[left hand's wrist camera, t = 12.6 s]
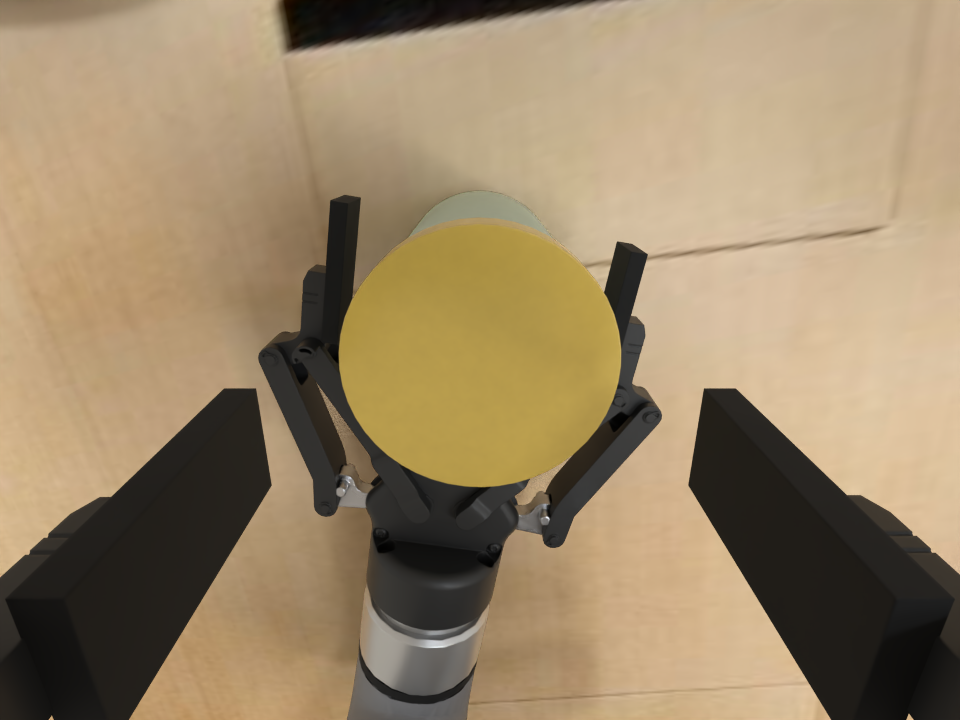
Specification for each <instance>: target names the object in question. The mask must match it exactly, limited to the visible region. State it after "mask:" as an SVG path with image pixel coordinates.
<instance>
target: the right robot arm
mask: <svg viewBox="0 0 960 720" xmlns="http://www.w3.org/2000/svg"><path fill="white" fill-rule="evenodd" d="M360 200H361V198H360V197H354V196H348V195H343V196H341V197H338V198H336V199H333V200H330V214H329V230H328V245H327V260H326V266H322V265H315V266H314V267H313V268H311V269H310V270H309V271H308V272H307V274H306V276H305V278H304V280H303V296H302V300H303V301H302V316H301V330H300V331H298V332H293V333H290V332H282V333H280V334H278V335H277V336H276V337H275V338H274V339H273V340H272V341H271V342H270V343H269V344H268V345H267V346H266V347H265V348H263V349H262V351H261V352H260V353H259V357H258V359H259V363H260V365H261V367H262V369H263V371H264V374H265V376H266V378H267V380H268V382H269V385H270V387H271V389H272V391H273V393H274V396H275V398H276V400H277V402H278V404H279V406H280V409H281V411H282V413H283V415H284V417H285V420H286V422H287V424H288V426H289V428H290V430H291V433H292V435H293V437H294V439H295V441H296V444H297V446H298V448H299V450H300V452H301V455H302V457H303V459H304V461H305V463H306V465H307V468H308V470H309V472H310V474H311V476H312V479H313V488H314V508H315V511H316V512H317V513H318V514H320V515H321V516H325V517H327V516H332V515H334V513H335V512H336V510H337V508H338V506H340V507H356V508H366V509H367V511H368V513H369V515H370V517H371V520H372V533H371V542H370V551H369V559H368V568H367V584H366V588H365V592H364V601H363V611H362V620H361V630H360V640H359V654H358V661H357V667H356V674H355V680H354V687H353V693H352V699H351V704H350V709H349V713H348V717H347V720H467V710H468V703H469V697H470V691H471V686H472V680H473V675H474V670H475V667H476V663H477V658H478V655H479V652H480V648H481V644H482V639H483V635H484V631H485V626H486V622H487V618H488V614H489V606H490V601H491V598H492V594H493V590H494V585H495V581H496V577H497V572H498V568H499V563H500V559H501V555H502V550H503V546H504V543H505V541H506V539H507V538H508V536H509V535H510V534H511V533H512V532H513V531H514V530H515V529H517V530H522V531H527V532H531V533H536V534H541V535H542V537H543V541H544V544H545V545H546V546H548V547H550V548H556V547H559V546H561V545H562V544H563V543H564V541H565V539H566V536H567V534H568V531H569V528H570V526H571V523H572V521H573V518H574V516H575V515H576V514H577V513H578V512H579V511H580V510H581V509H582V507H583V506H584V505H585V504H586V503H587V502H588V501H589V500H590V499H591V498H592V496H593V495H594V494H595V493H596V492H597V491H598V490H599V489H600V488H601V487H602V485H603V484H604V483H605V482H606V481H607V480H608V479H609V478H610V477H611V475H612V474H613V473H614V472H615V471H616V470H617V469H618V468H619V467H620V466H621V464H622V463H623V462H624V461H625V460H626V459H627V458H628V457H629V456H630V455H631V453H632V452H633V451H634V450H635V449H636V448H637V447H638V446H639V445H640V444H641V442H642V441H643V440H644V439H645V438H646V437H647V436H648V435H649V434H650V432H651V431H652V430H653V429H654V428H655V427H656V426H657V425H658V424H659V422H660V421H661V418H662V414H661V411H660V410H659V408H658V407H657V405H656V404H655V402H654V401H653V399H652V398H651V396H650V395H649V393H648V392H647V390H646V389H645V388H643V387H637V386H635V385H633V384H632V380H633V377H634V373H635V370H636V366H637V363H638V359H639V355H640V353H641V349H642V346H643V342H644V339H645V328H644V325H643V324H642V322H641V321H640V320H639V319H638V318H637V317H635V316H631V313H632V310H633V306H634V302H635V299H636V295H637V292H638V288H639V284H640V281H641V277H642V274H643V270H644V266H645V263H646V259H647V256H648V254H646V253H645V252H643V251H642V250H640V249H639V248H637V247H636V246H634V245H633V244H629V243H623V242H617V244H616V248H615V252H614V256H613V260H612V264H611V268H610V272H609V276H608V279H607V283H606V287H605V291H604V294H605V295H606V297H607V299H608V301H609V303H610V306H611V308H612V310H613V313H614V315H615V319H616V322H617V326H618V330H619V336H620V344H621V369H620V375H619V381H618V385H617V389H616V392H615V395H614V398H613V401H612V403H611V405H610V407H609V410H608V412H607V414H606V416H605V417H604V419H603V421H602V422H601V424H600V425H599V427H598V429H597V430H596V431H595V432H594V434H593V435H592V436H591V437H590V438H589V440H588V441H587V442H586V443H585V444H584V445H583V446H582V447H581V448H580V449H579V450H578V451H576V452H575V453H574V454H573V456H572V457H571V458H570V459H569V460H568V461H567V462H566V464H565V465H564V466H563V467H562V468H561V469H560V471H559V472H558V473H557V474H556V475H555V477H554V478H553V479H552V481H551V482H550V484H549V486H548V487H547V490H546V492H543V491H539V492H537V493H536V496H535V497H534V498H533V499H532V501H531V502H530V503H529V504H526V505H518V504H517V500H516V498H515V497H514V496H515V495H517V494H518V493H519V492H521V491H522V490H523V489H524V488H525V487H526V486H527V483H528V481H529V480H530V479H527V480H523V481H520V482H517V483H512V484H507V485H501V486H491V487H468V486H459V485H453V484H447V483H444V482H440V481H436V480H433V479H430V478H427V477H425V476H422V475H420V474H418V473H415V472H413V471H412V470H410V469H408V468H406V467H404V466H402V465H401V464H399V463H398V462H397V461H395V460H394V459H392V458H391V457H390V456H388V455H387V454H386V453H385V452H384V451H383V450H381V449H380V448H379V447H378V446H377V445H376V444H375V443H374V442H373V441H372V439H371V438H370V437H369V436H368V435H367V434H366V433H365V431H364V430H363V428H362V427H361V425H360V424H359V422H358V421H357V419H356V418H355V416H354V414H353V412H352V410H351V408H350V406H349V403H348V401H347V398H346V395H345V392H344V389H343V386H342V381H341V375H340V370H339V344H340V334H341V330H342V326H343V322H344V318H345V315H346V313H347V310H348V308H349V306H350V303H351V301H352V295H353V283H354V271H355V259H356V247H357V236H358V224H359V212H360ZM316 382H317V383H316ZM317 384H318V385H319V386H320V388H321V389H322V390H323V392H324V393H325V395H326V396H327V397H328V399H329V400H330V401H331V403H332V404H333V405H334V407H335V408H336V410H337V411H338V412H339V414H340V415H341V416H342V418H343V419H344V421H345V422H346V423H347V425H348V426H349V427H350V429H351V430H352V431H353V433H354V434H355V436H356V437H357V438H358V440H359V441H360V442H361V444H362V445H363V446H364V448H365V449H366V451H367V452H368V453H369V455H370V457H371V462H372V465H373V467H374V469H375V471H376V472H377V473H378V476H377V477H376V478H375V479H374V480H373V481H372V483H371V484H368V483H365V482H363V481H362V480H361V479H360V478H359V476H358V473H357V471H356V470H355V466H354V465H353V464H347V463H346V455H345V450H344V448H343V445H342V442H341V440H340V437H339V435H338V433H337V430H336V428H335V426H334V423H333V421H332V418H331V416H330V414H329V411H328V409H327V407H326V404H325V402H324V400H323V397H322V395H321V392H320V390H319V388H318V385H317Z"/></svg>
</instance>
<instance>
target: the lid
mask: <svg viewBox="0 0 960 720" xmlns="http://www.w3.org/2000/svg"><path fill="white" fill-rule="evenodd" d="M620 369H621V344H620V336H619V330H618V326H617V322H616V319H615V315H614V313H613V310H612V308H611V306H610V303H609V301H608V299H607V297H606V295H605V294H604V292H603V291H602V289H601V287H600V286H599V284H598V282H597V281H596V280H595V279H594V278H593V276H592V275H591V274H590V273H589V272H588V270H587V269H586V268H585V267H584V266H583V264H582V263H581V262H580V261H579V260H578V259H577V257H575V256H574V255H573V254H572V253H571V252H570V251H569V250H568V249H567V248H565V247H564V246H563V245H562V244H560V243H559V242H557V241H556V240H554V239H553V238H551V237H550V236H548V235H546V234H544V233H542V232H540V231H538V230H536V229H534V228H532V227H529V226H526V225H523V224H520V223H517V222H513V221H508V220H503V219H498V218H481V217H477V218H464V219H457V220H452V221H447V222H443V223H440V224H437V225H434V226H431V227H429V228H426V229H424V230H422V231H420V232H418V233H416V234H414V235H412V236H410V237H408V238H407V239H406V240H404V241H403V242H401V243H400V244H399V245H397V246H396V247H394V248H393V249H392V250H391V251H390V252H389V253H388V254H387V255H386V256H385V257H384V258H383V259H382V260H381V261H380V262H379V263H378V264H377V265H376V267H375V268H374V269H373V270H372V271H371V273H370V274H369V275H368V276H367V278H366V279H365V280H364V281H363V283H362V284H361V285H360V287H359V289H358V290H357V292H356V294H355V296H354V297H353V299H352V301H351V303H350V306H349V308H348V310H347V313H346V315H345V318H344V322H343V326H342V330H341V334H340V344H339V370H340V375H341V381H342V386H343V389H344V392H345V395H346V398H347V401H348V403H349V406H350V408H351V410H352V412H353V414H354V416H355V418H356V419H357V421H358V422H359V424H360V425H361V427H362V428H363V430H364V431H365V433H366V434H367V435H368V436H369V437H370V438H371V439H372V441H373V442H374V443H375V444H376V445H377V446H378V447H379V448H380V449H381V450H383V451H384V452H385V453H386V454H387V455H388V456H390V457H391V458H392V459H394V460H395V461H397V462H398V463H399V464H401V465H402V466H404V467H406V468H408V469H410V470H412V471H413V472H415V473H418V474H420V475H422V476H425V477H427V478H430V479H433V480H436V481H440V482H444V483H447V484H453V485H459V486H468V487H491V486H501V485H507V484H512V483H517V482H520V481H523V480H527V479H530V478H533V477H535V476H537V475H540V474H542V473H545V472H547V471H548V470H550V469H552V468H554V467H556V466H557V465H559V464H561V463H562V462H564V461H565V460H566V459H568V458H569V457H570V456H572V455H573V454H574V453H575V452H576V451H578V450H579V449H580V448H581V447H582V446H583V445H584V444H585V443H586V442H587V441H588V440H589V438H590V437H591V436H592V435H593V434H594V432H595V431H596V430H597V429H598V427H599V425H600V424H601V422H602V421H603V419H604V417H605V416H606V414H607V412H608V410H609V407H610V405H611V403H612V401H613V398H614V395H615V392H616V389H617V385H618V381H619V375H620Z"/></svg>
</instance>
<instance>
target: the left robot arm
mask: <svg viewBox="0 0 960 720" xmlns="http://www.w3.org/2000/svg"><path fill="white" fill-rule="evenodd" d="M270 487H271V478H270V472H269V466H268V460H267V454H266V448H265V441H264V435H263V429H262V423H261V417H260V410H259V404H258V398H257V392H256V389H223V390H222V391H221V392H220V393H219V394H218V395H217V396H216V397H215V398H214V399H213V400H212V401H211V402H210V403H209V404H208V405H207V406H206V407H205V408H204V409H202V410H201V411H200V412H199V413H198V414H197V415H196V416H195V417H194V418H193V419H192V420H191V421H190V422H189V423H188V424H187V425H186V426H185V427H184V428H183V429H182V430H181V431H180V432H178V433H177V434H176V435H175V436H174V437H173V438H172V439H171V440H170V441H169V442H168V443H167V444H166V445H165V446H164V447H163V448H162V449H161V450H160V451H159V452H158V453H157V454H156V455H155V456H153V457H152V458H151V459H150V460H149V461H148V462H147V463H146V464H145V465H144V466H143V467H142V468H141V469H140V470H139V471H138V472H137V473H136V474H135V475H134V476H133V477H132V478H131V479H129V480H128V481H127V482H126V483H125V484H124V485H123V486H122V487H121V488H120V489H119V490H118V491H117V492H116V493H115V494H114V495H113V496H112V497H99V498H98V499H96V500H94V501H92V502H91V503H89V504H87V505H85V506H84V507H82V508H80V509H78V510H77V511H75V512H73V513H71V514H70V515H69V516H68V517H67V518H65V519H64V520H63V521H62V522H61V523H60V524H59V525H58V526H57V527H56V528H54V529H53V530H52V531H51V532H50V533H49V534H48V535H49V536H48V538H43V539H42V540H41V541H40V542H39V543H38V544H37V545H36V546H35V547H33V548H32V549H31V550H30V554H29V555H25V556H23V557H22V558H21V559H20V560H19V561H18V562H17V563H16V564H15V565H14V566H12V567H11V568H10V569H9V570H8V571H7V572H6V573H5V574H4V575H2V576H1V577H0V720H49V718H50V717H51V716H53V719H54V720H129V718H130V717H131V715H132V714H133V712H134V710H135V709H136V707H137V705H138V704H139V702H140V700H141V699H142V697H143V696H144V694H145V692H146V691H147V689H148V687H149V686H150V684H151V682H152V681H153V679H154V677H155V676H156V674H157V673H158V671H159V669H160V668H161V666H162V664H163V663H164V661H165V659H166V658H167V656H168V654H169V653H170V651H171V650H172V648H173V646H174V645H175V643H176V641H177V640H178V638H179V636H180V635H181V633H182V632H183V630H184V628H185V627H186V625H187V623H188V622H189V620H190V618H191V617H192V615H193V613H194V612H195V610H196V609H197V607H198V605H199V604H200V602H201V600H202V599H203V597H204V595H205V594H206V592H207V590H208V589H209V587H210V586H211V584H212V582H213V581H214V579H215V577H216V576H217V574H218V572H219V571H220V569H221V568H222V566H223V564H224V563H225V561H226V559H227V558H228V556H229V554H230V553H231V551H232V549H233V548H234V546H235V545H236V543H237V541H238V540H239V538H240V536H241V535H242V533H243V531H244V530H245V528H246V526H247V525H248V523H249V522H250V520H251V518H252V517H253V515H254V513H255V512H256V510H257V508H258V507H259V505H260V504H261V502H262V500H263V499H264V497H265V495H266V494H267V492H268V490H269V489H270ZM689 487H690V489H691V490H692V492H693V494H694V495H695V497H696V499H697V500H698V502H699V504H700V505H701V507H702V508H703V510H704V512H705V513H706V515H707V517H708V518H709V520H710V522H711V523H712V525H713V526H714V528H715V530H716V531H717V533H718V535H719V536H720V538H721V540H722V541H723V543H724V545H725V546H726V548H727V549H728V551H729V553H730V554H731V556H732V558H733V559H734V561H735V563H736V564H737V566H738V568H739V569H740V571H741V572H742V574H743V576H744V577H745V579H746V581H747V582H748V584H749V586H750V587H751V589H752V590H753V592H754V594H755V595H756V597H757V599H758V600H759V602H760V604H761V605H762V607H763V609H764V610H765V612H766V613H767V615H768V617H769V618H770V620H771V622H772V623H773V625H774V627H775V628H776V630H777V632H778V633H779V635H780V636H781V638H782V640H783V641H784V643H785V645H786V646H787V648H788V650H789V651H790V653H791V654H792V656H793V658H794V659H795V661H796V663H797V664H798V666H799V668H800V669H801V671H802V673H803V674H804V676H805V677H806V679H807V681H808V682H809V684H810V686H811V687H812V689H813V691H814V692H815V694H816V696H817V697H818V699H819V700H820V702H821V704H822V705H823V707H824V709H825V710H826V712H827V714H828V715H829V717H830V718H831V720H906V719H907V716H908V714H910V715H911V717H912V718H913V719H914V720H960V574H958V573H957V572H956V571H955V570H954V569H953V568H952V567H951V566H950V565H948V564H947V563H946V562H945V561H944V560H943V559H942V558H941V557H940V556H938V555H937V554H936V553H932V552H931V548H930V547H928V546H927V545H926V544H925V543H924V542H923V541H922V540H921V539H920V538H918V537H917V536H913V535H912V531H911V530H910V529H908V528H907V527H906V526H905V525H904V524H903V523H902V522H901V521H900V520H898V519H897V518H896V517H895V516H894V515H893V514H892V513H891V512H889V511H887V510H886V509H884V508H882V507H880V506H879V505H877V504H875V503H873V502H872V501H870V500H868V499H866V498H864V497H863V496H861V495H846V494H845V493H844V492H843V491H842V490H841V489H840V488H839V487H838V486H837V485H836V484H835V483H834V482H833V481H832V480H831V479H829V478H828V477H827V476H826V475H825V474H824V473H823V472H822V471H821V470H820V469H819V468H818V467H817V466H816V465H815V464H814V463H813V462H812V461H811V460H810V459H809V458H808V457H807V456H805V455H804V454H803V453H802V452H801V451H800V450H799V449H798V448H797V447H796V446H795V445H794V444H793V443H792V442H791V441H790V440H789V439H788V438H787V437H786V436H785V435H784V434H783V433H782V432H780V431H779V430H778V429H777V428H776V427H775V426H774V425H773V424H772V423H771V422H770V421H769V420H768V419H767V418H766V417H765V416H764V415H763V414H762V413H761V412H760V411H759V410H758V409H756V408H755V407H754V406H753V405H752V404H751V403H750V402H749V401H748V400H747V399H746V398H745V397H744V396H743V395H742V394H741V393H740V392H739V391H738V390H737V389H704V392H703V398H702V404H701V410H700V417H699V423H698V429H697V435H696V441H695V448H694V454H693V460H692V466H691V472H690V478H689Z"/></svg>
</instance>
